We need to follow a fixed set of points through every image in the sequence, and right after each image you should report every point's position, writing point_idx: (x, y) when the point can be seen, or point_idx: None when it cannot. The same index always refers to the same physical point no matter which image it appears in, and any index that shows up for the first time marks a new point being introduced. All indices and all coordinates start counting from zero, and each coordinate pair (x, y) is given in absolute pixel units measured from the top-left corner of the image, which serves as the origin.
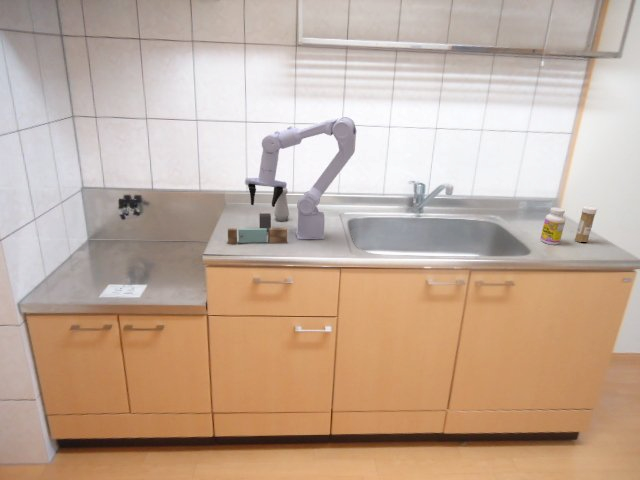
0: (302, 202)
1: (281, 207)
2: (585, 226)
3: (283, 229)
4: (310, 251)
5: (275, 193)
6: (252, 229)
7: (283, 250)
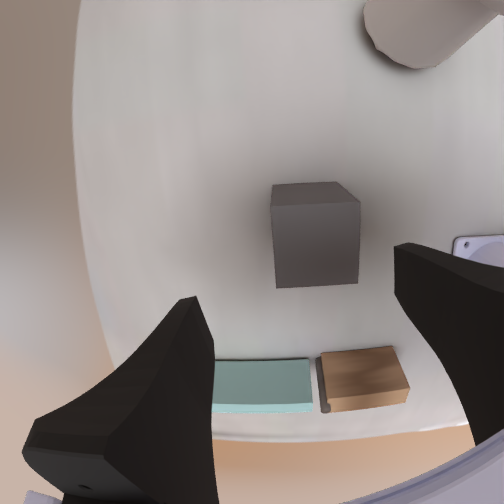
0: None
1: (437, 44)
2: None
3: (389, 404)
4: (436, 403)
5: (472, 390)
6: (244, 412)
7: (360, 409)
